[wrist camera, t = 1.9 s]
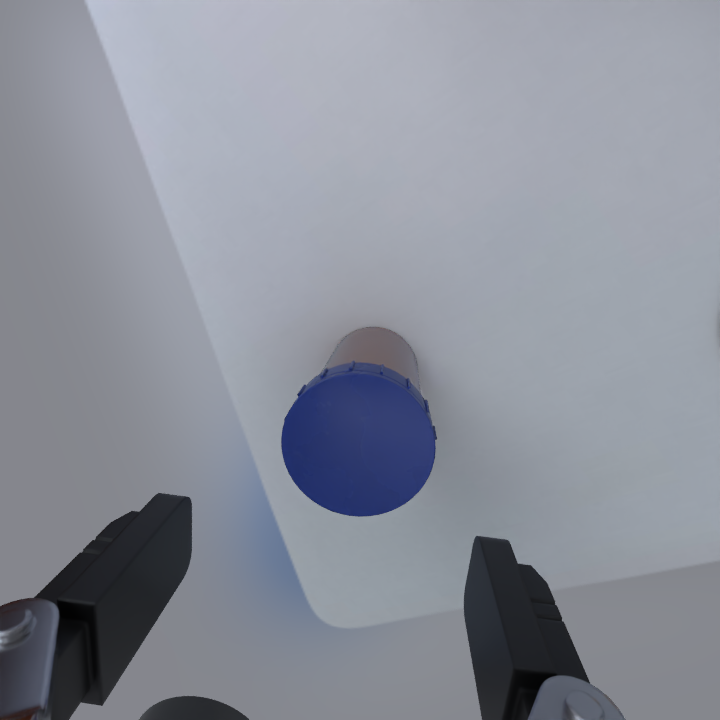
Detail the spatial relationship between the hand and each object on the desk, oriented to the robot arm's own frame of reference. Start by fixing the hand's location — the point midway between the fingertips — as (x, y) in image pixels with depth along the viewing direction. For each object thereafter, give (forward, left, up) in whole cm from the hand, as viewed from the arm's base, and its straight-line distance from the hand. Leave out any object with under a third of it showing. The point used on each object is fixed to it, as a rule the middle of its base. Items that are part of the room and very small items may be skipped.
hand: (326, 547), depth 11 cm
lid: (0, 0, -6) cm, 6 cm away
